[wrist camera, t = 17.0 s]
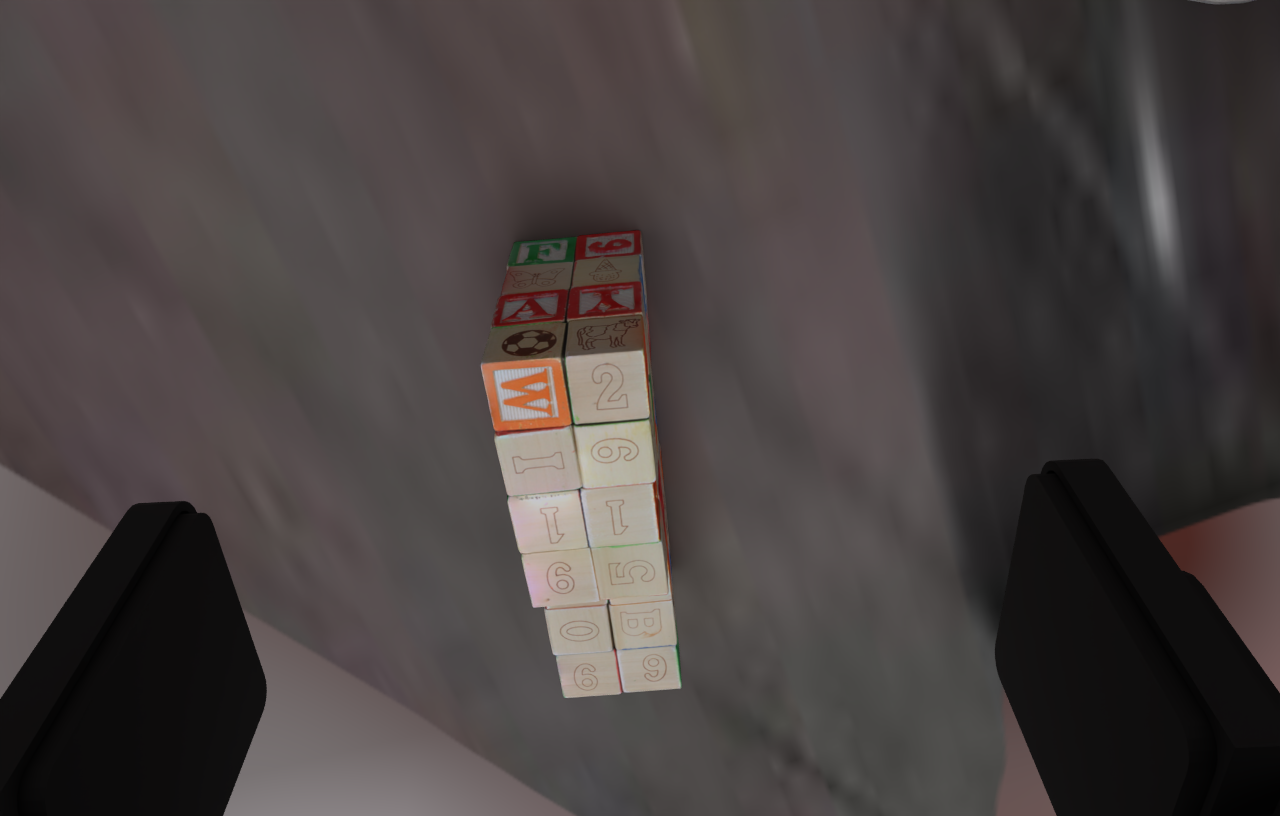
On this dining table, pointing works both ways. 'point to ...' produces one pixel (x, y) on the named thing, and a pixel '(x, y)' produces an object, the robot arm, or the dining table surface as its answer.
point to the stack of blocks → (585, 458)
